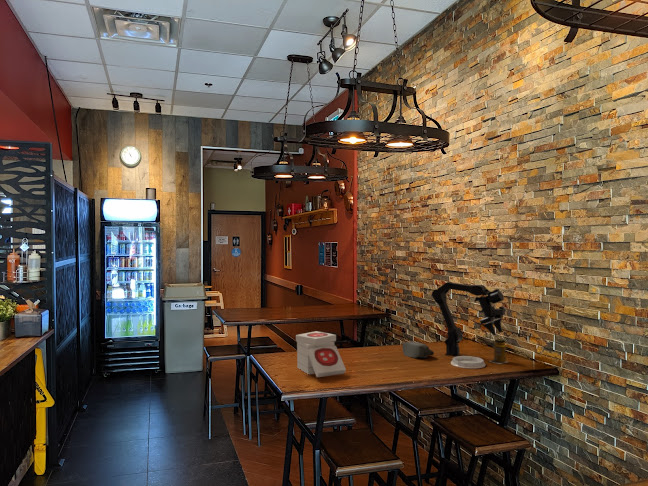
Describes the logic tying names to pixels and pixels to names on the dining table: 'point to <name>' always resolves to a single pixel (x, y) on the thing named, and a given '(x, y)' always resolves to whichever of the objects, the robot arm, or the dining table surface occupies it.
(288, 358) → the dining table surface
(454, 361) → the collar plate
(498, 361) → the condiment
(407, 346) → the grey rounded jug
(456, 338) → the robot arm
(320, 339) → the pizza box stack
